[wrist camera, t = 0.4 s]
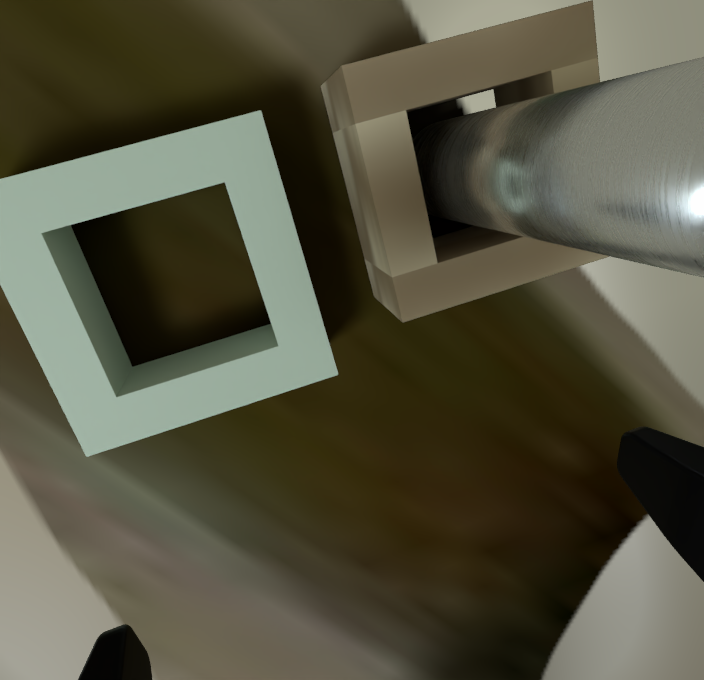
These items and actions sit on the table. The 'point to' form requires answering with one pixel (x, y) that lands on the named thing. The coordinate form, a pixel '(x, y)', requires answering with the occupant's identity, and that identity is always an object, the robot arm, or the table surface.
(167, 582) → the table surface
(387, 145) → the brown square frame
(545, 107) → the axle
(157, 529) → the table surface
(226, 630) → the table surface
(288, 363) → the socket block
